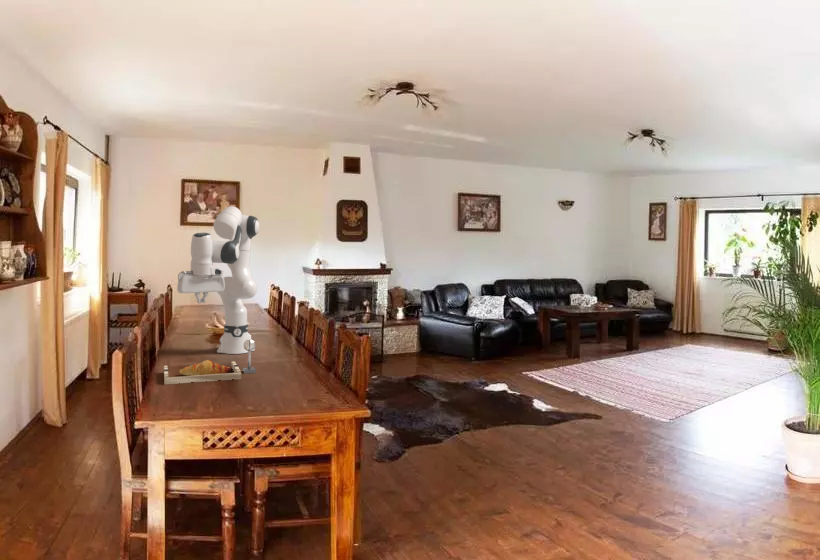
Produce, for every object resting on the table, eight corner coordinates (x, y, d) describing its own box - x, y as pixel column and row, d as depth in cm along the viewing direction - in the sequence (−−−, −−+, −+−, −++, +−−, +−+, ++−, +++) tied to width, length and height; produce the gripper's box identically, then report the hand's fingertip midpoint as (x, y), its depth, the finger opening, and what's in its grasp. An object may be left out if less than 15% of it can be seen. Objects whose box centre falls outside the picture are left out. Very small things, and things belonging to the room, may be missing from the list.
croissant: (178, 385, 247) (176, 371, 242) (181, 369, 255) (179, 355, 251) (230, 382, 251) (229, 368, 247) (231, 367, 260) (230, 353, 256)
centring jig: (163, 372, 254) (163, 364, 253) (235, 367, 266) (235, 360, 265) (164, 384, 233) (164, 376, 233) (241, 378, 245) (241, 370, 245)
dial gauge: (242, 371, 260) (242, 339, 259) (254, 370, 262) (254, 338, 261) (244, 373, 255) (244, 341, 254) (255, 372, 257) (256, 340, 256)
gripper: (181, 271, 238) (181, 305, 238) (226, 270, 253) (226, 302, 254) (174, 270, 242) (174, 303, 243) (219, 270, 257) (218, 301, 258)
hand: (201, 302), depth 248 cm, fingers closed
